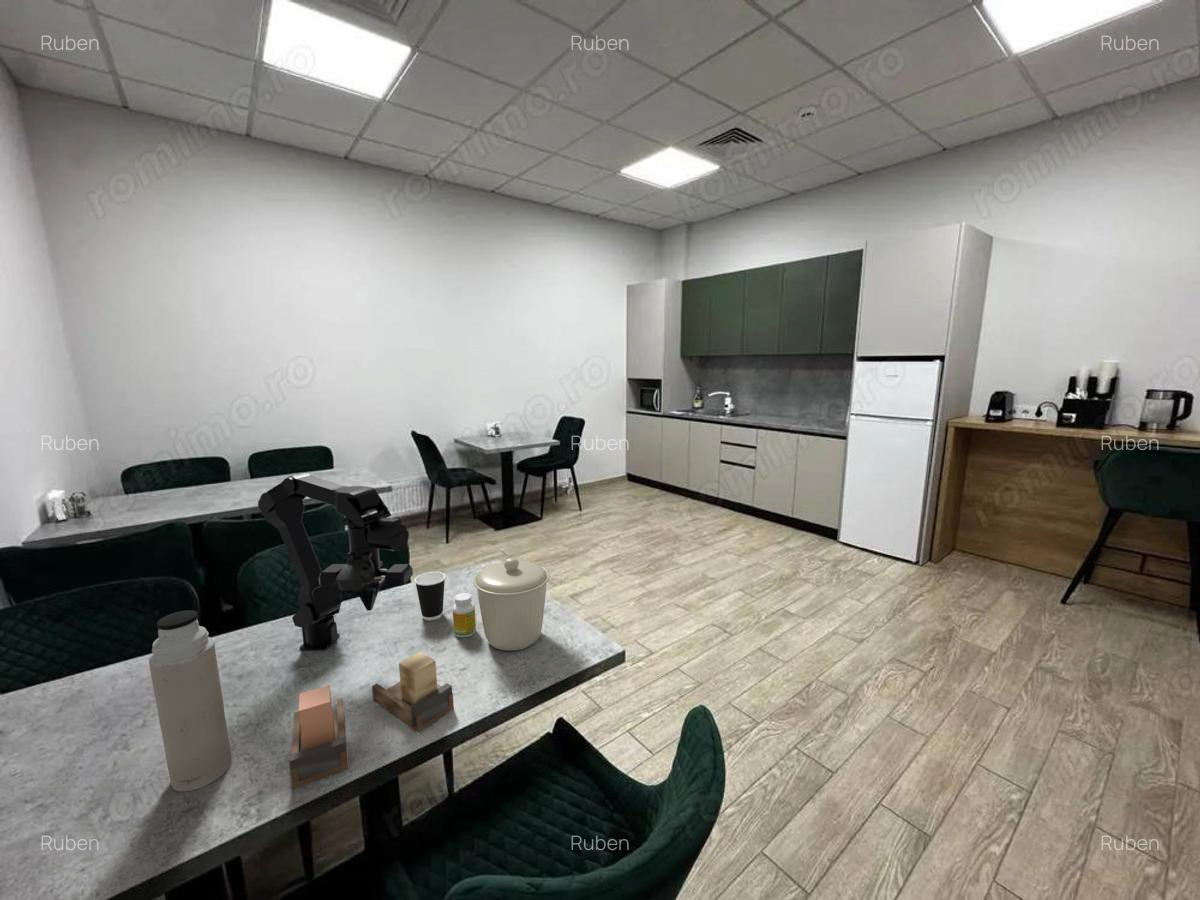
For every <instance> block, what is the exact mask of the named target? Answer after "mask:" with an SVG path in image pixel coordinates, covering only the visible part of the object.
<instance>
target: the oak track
mask: <svg viewBox="0 0 1200 900" xmlns="http://www.w3.org/2000/svg"><path fill="white" fill-rule="evenodd" d="M371 688H372V690H371V691H372V699H373V702H374V703H375V704H377V706H379V707H381V708H382V709H383V710H385V711H386V712H387V713H389V714H390V715H392V716H393V717H394V718H395V719H397V720H399V721H400V722H401V723H402V724H403V725H405V726H407V727H408V728H410V729H411V730H412V731H414V732H415V733H416V734H420V733H421V732H423V731H424V730H426V729H427V728H428V727H431V725H433V724H434V723H436V722H437V721H439V720H440V719H441V718H443V717H445V716H446V715H447V714H449V713H451V712H452V711H453V710H454V709H455V708H454V707H455V706H454V705H455V704H454V693H453V685H451V684H450V683H448V682H446V683H445V684H442V685H440V684H438V683H437V690H435V691H433V692H432V693H430V694H429V695H427V696H426V697H424V698H422V699H421V700H419V701H418V702H416V703H415V704H413V705H411V706H410V705H408V704H407V703H405V702H404V701H402V696H401V684H400V681H399V682H396V683H394V684H393V685H391V686H389V687H388V688H385V687H384V686H382V685H380V684H378V683H377V682H376V683H375V684H373V685H371Z"/></svg>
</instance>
